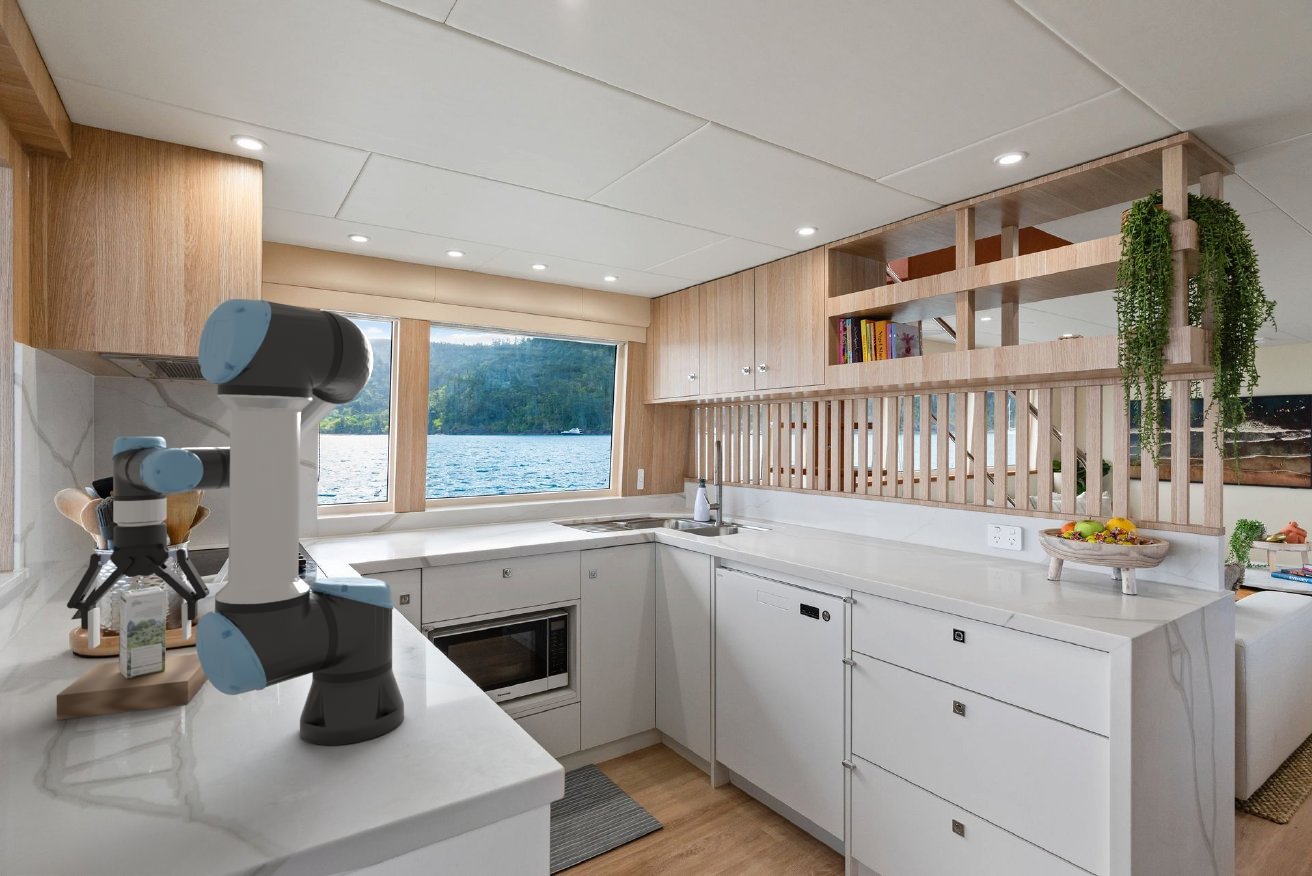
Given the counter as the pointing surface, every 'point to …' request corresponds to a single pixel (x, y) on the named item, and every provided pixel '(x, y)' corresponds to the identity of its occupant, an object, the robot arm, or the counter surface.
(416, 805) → the counter surface
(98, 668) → the block
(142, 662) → the syrup box
